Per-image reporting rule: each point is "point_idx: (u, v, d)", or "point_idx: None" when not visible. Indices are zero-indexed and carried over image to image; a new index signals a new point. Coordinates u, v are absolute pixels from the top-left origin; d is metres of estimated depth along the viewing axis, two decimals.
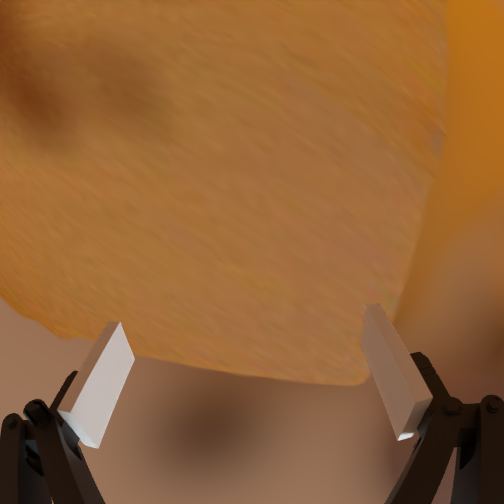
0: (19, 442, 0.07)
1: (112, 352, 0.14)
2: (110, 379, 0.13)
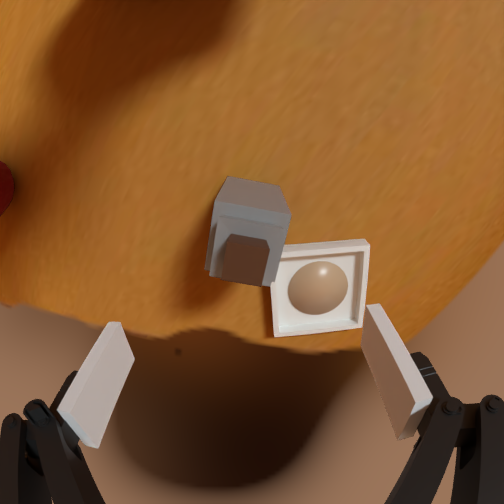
0: (19, 442, 0.07)
1: (112, 352, 0.14)
2: (110, 379, 0.13)
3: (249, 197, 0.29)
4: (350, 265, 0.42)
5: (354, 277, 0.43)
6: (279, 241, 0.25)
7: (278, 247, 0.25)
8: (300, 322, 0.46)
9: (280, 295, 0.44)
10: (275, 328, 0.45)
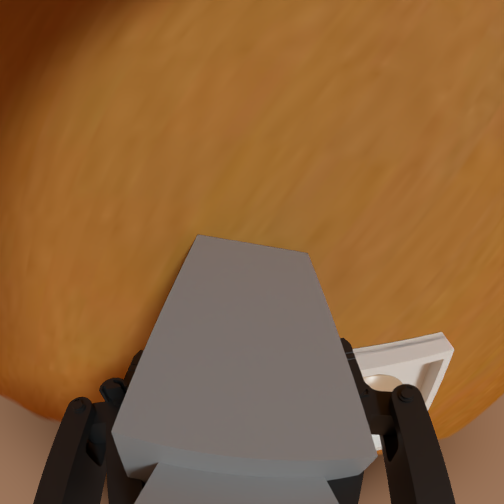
0: (83, 431, 0.08)
1: None
2: None
3: (240, 359, 0.09)
4: (414, 373, 0.22)
5: None
6: None
7: None
8: None
9: None
10: None
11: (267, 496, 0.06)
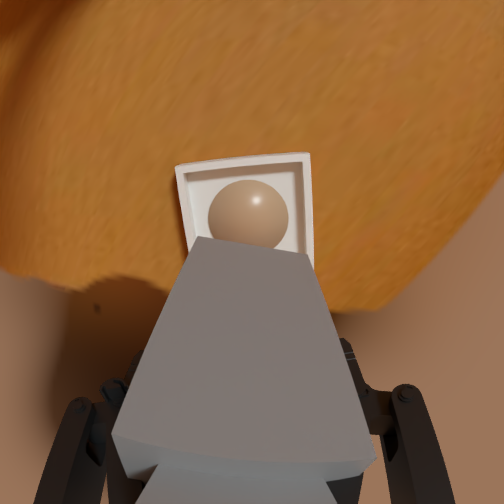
0: (83, 431, 0.08)
1: None
2: None
3: (239, 361, 0.09)
4: (288, 186, 0.33)
5: (296, 204, 0.33)
6: None
7: None
8: None
9: (199, 227, 0.35)
10: None
11: (266, 498, 0.06)
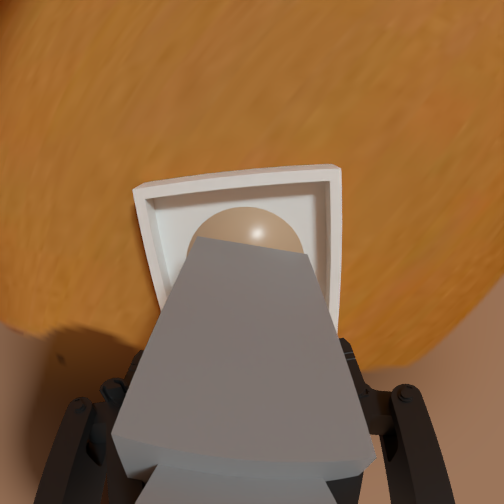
0: (83, 431, 0.08)
1: None
2: None
3: (239, 361, 0.09)
4: (306, 216, 0.22)
5: (317, 242, 0.23)
6: None
7: None
8: None
9: (175, 274, 0.24)
10: None
11: (266, 497, 0.06)
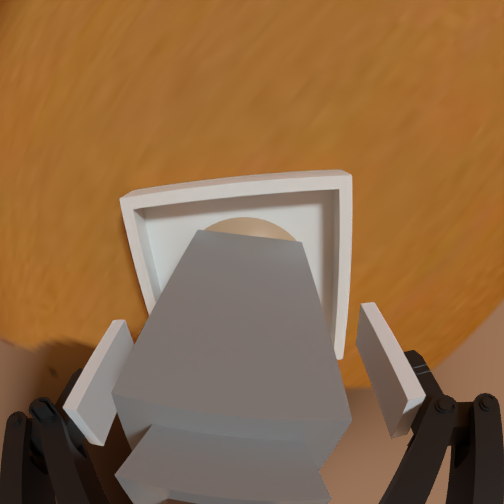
0: (24, 441, 0.07)
1: (117, 350, 0.14)
2: (115, 377, 0.13)
3: (228, 333, 0.10)
4: (312, 228, 0.20)
5: (323, 256, 0.20)
6: None
7: None
8: None
9: None
10: None
11: (248, 455, 0.07)
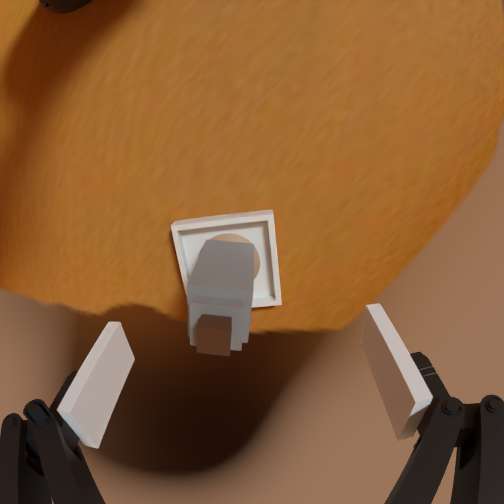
0: (19, 442, 0.07)
1: (112, 352, 0.14)
2: (110, 379, 0.13)
3: (219, 272, 0.34)
4: (259, 237, 0.43)
5: (266, 250, 0.44)
6: (242, 317, 0.29)
7: (242, 322, 0.29)
8: None
9: (192, 269, 0.45)
10: None
11: (224, 300, 0.30)
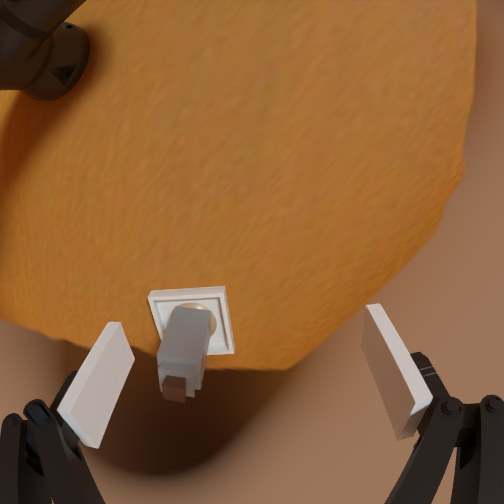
0: (19, 442, 0.07)
1: (112, 352, 0.14)
2: (110, 379, 0.13)
3: (180, 342, 0.45)
4: (215, 306, 0.54)
5: (221, 315, 0.55)
6: (193, 379, 0.41)
7: (193, 381, 0.41)
8: None
9: (166, 325, 0.56)
10: None
11: (181, 366, 0.42)
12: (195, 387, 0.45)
